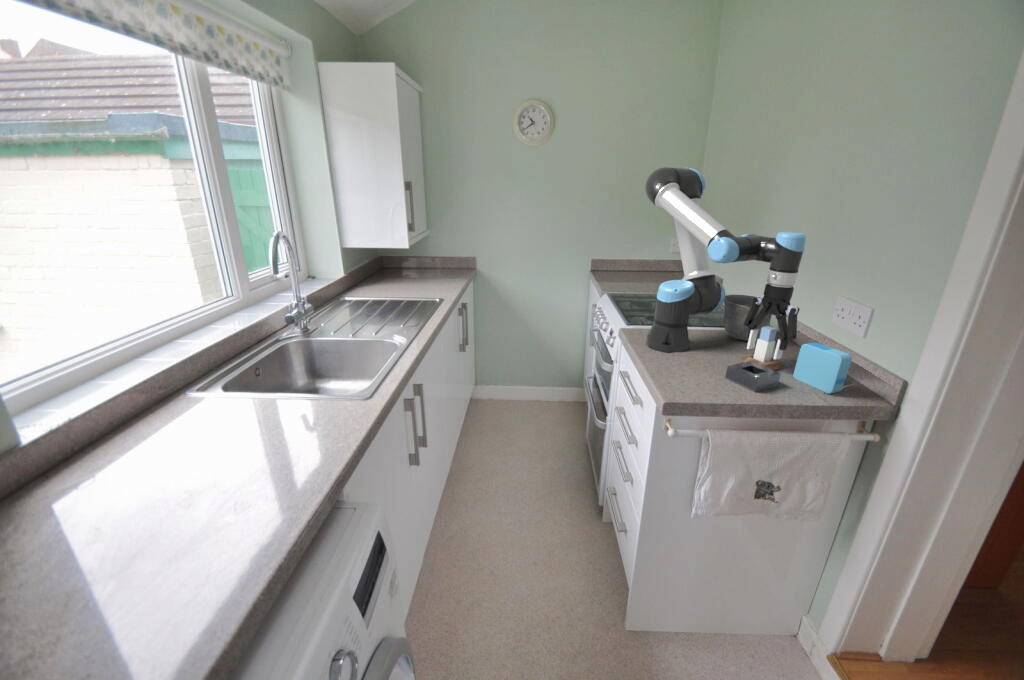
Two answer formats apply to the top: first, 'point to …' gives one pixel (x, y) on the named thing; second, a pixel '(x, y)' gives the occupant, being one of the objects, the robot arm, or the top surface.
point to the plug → (765, 344)
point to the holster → (770, 365)
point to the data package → (822, 367)
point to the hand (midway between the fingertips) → (763, 353)
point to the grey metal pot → (740, 316)
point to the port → (752, 376)
